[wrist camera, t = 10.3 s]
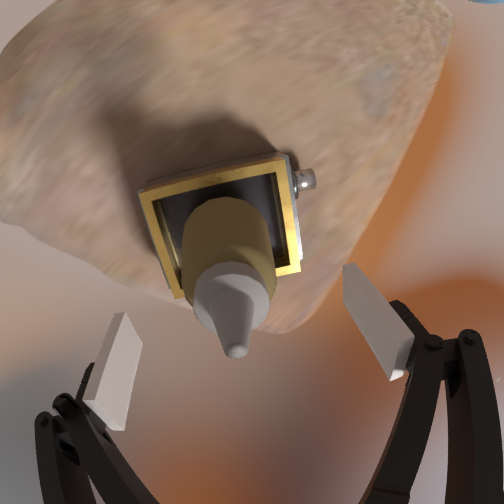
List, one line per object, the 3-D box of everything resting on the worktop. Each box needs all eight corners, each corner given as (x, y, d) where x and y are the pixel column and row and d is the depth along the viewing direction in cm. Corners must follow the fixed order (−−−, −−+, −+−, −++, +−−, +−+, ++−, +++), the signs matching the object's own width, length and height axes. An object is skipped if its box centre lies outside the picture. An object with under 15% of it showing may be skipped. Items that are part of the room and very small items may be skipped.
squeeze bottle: (204, 175, 27) (184, 251, 11) (276, 207, 29) (346, 310, 13) (175, 244, 30) (139, 375, 13) (243, 270, 32) (269, 406, 16)
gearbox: (302, 147, 32) (324, 153, 25) (313, 237, 37) (334, 262, 30) (147, 181, 31) (129, 196, 25) (174, 268, 37) (166, 300, 30)
